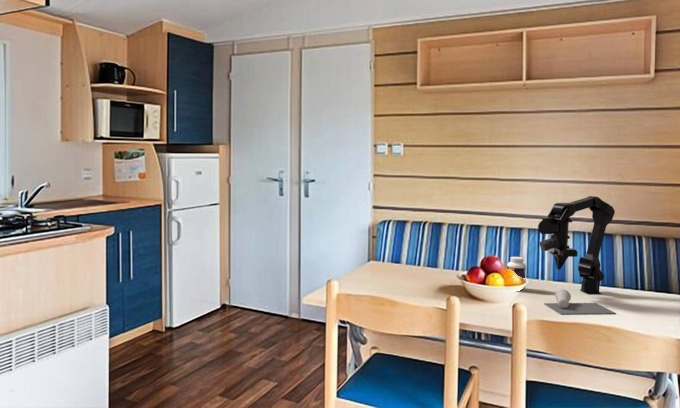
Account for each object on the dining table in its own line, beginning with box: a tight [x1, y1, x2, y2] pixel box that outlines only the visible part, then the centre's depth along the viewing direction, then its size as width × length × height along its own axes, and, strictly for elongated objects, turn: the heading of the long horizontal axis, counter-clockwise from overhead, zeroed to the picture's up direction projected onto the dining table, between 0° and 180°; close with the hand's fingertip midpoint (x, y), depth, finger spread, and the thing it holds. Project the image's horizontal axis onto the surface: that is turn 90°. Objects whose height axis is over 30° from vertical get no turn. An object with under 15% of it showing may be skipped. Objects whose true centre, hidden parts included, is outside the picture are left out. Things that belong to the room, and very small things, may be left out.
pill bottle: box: [506, 256, 527, 291], centre depth 245 cm, size 8×8×14 cm
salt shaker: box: [555, 289, 572, 309], centre depth 220 cm, size 6×6×13 cm
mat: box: [543, 302, 617, 316], centre depth 216 cm, size 22×14×1 cm, turn 95°
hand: (558, 269), depth 233 cm, fingers closed
